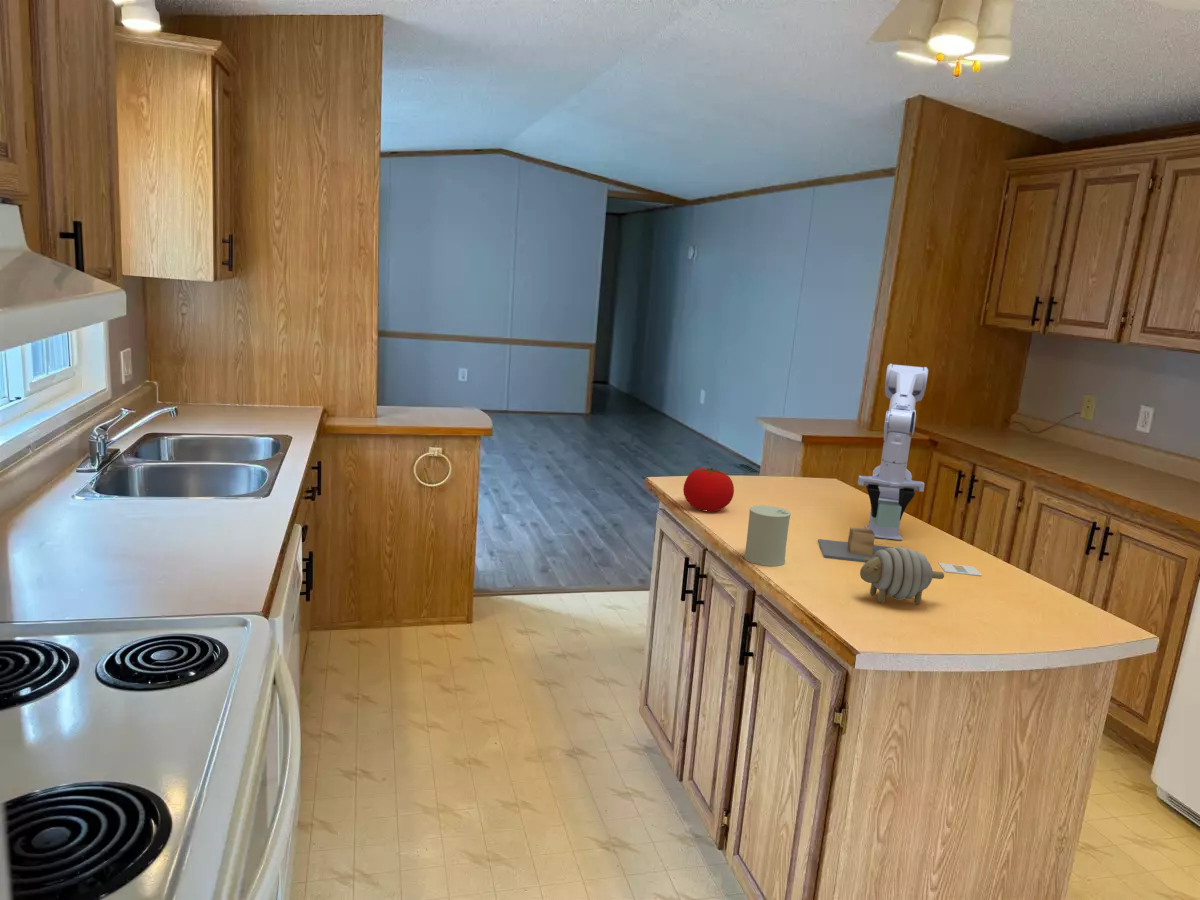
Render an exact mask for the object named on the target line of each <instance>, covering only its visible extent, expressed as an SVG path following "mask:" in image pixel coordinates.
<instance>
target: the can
mask: <svg viewBox="0 0 1200 900" xmlns="http://www.w3.org/2000/svg"><path fill="white" fill-rule="evenodd" d="M748 515H749V516H748V522H747V523H748V524H747V534H746V542H745V543H746V544H745V550H744V555H743V558H744V560H746V561H747V562H749V563H752V564H754V565H759V566H765V567H780V566H783V565H784V564H785V563H786V551H787V549H786V548H787V541H788V535H789V526H790V519H791V511H789V510H787V509H785V508H783V507H779V506H774V505H762V504H760V505H752V506H750V507H749V513H748Z"/></svg>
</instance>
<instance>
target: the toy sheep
mask: <svg viewBox="0 0 1200 900" xmlns="http://www.w3.org/2000/svg"><path fill="white" fill-rule="evenodd" d="M866 561H867V562H864V563H863V565H862V566H861V568H860V571H859V576H860V578H861V580H862V581H864V582H866V583H870V590H869V594H870V595H871V596H876V594H877V590H878V594H877V595H878V596H877V602H879V604H883V603H885V598H886V596H887V597H893V598H894V599H895V600H900V601H902V600H903V599H908V600H910V599H913V598H914V601H913V604H914V605H916V606H919V605H921V601H922V594H923V591H924V590H926V589H928V587H929V586H930V585H931V584H932V583H931V582H932V581H933V579H937V580H943V579H944V577H945V574H944V572H942V571H939V570H937V571H936V570H933V567H932V566H931V564H930V562H929V560H928V558H927V557H926V556H925V554H924V553H922V552H919V551H918V552H916V551H915V550H914V549H911V548H905V547H902V546H896V547H893V548H887V549H885V550H878V551H877V552H876V553H875V554H874V556H873V558H872V559H870V558H866Z"/></svg>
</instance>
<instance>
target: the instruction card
mask: <svg viewBox="0 0 1200 900" xmlns="http://www.w3.org/2000/svg"><path fill="white" fill-rule="evenodd" d="M938 565H939V566H940V567H941V569H942V570H943V571H944V572H945V573H952V574H960V575H969V576H976V577H977V576H978V577H982V576H983V575H982V573H981V572H980V571H979V569H977V568H976V567H975V566H972V565H971V566H969V565H962V564H961V565H960V564H951V563H943V562H938Z"/></svg>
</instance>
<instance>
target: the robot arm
mask: <svg viewBox="0 0 1200 900" xmlns="http://www.w3.org/2000/svg"><path fill="white" fill-rule="evenodd" d="M928 376H929V368H928V367H927V366H924V367H923V366H913V365H903V364H893V363H889V364H888V365H887V368H886V374H885V380H884V381H885V382H884V393H885V397H886V398H888V399H890V401H889V407H888V410H886V413H885V418H884V425H883V441H884V442H883V445H882V452H881V461H880V464H879V465H878V466H875V468H874V469H873V471H872V475H858V479H857V485H858V486H866V491H867V493H868V498H869V501H870V515H869V520H868V525H864V529H872V531H873V533H874V534H875V538H877V539H887V540H896V541H903V538H902V536H901V535H900V527H901V521H902V519H903V518H902V517H903V515H904V513H905V510H906V508H907V507H908V505H909V504H910V502H912V501H911V500H913V498H915V495H916V492H915V491H917V492H924V491H925V485H926V484H925V483H924V481H919V480H918V481H917V480H912V478H913V475H912V473H911V471H909V469H907V466H908V462H909V461H908V460H909V453H910V448H911V447H910V446H911V442H912V436H913V435H914V434H915V433H914V432H915V428H916V427H915V426H916V422H917V414H916V413H917V411H916V403H917V402H921V401H922V400H923V398H924V396H925V392H926V390H927V389H926V387H927V382H928ZM878 500H884V501H894V502H898V504H899V505H900V506H901V507H902V508H901V515H900V522H899V528H893V527H884V526H876V525H875V523H874V522H873V520H872V519H873V517H874V518H876V515H877V505H878Z"/></svg>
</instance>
